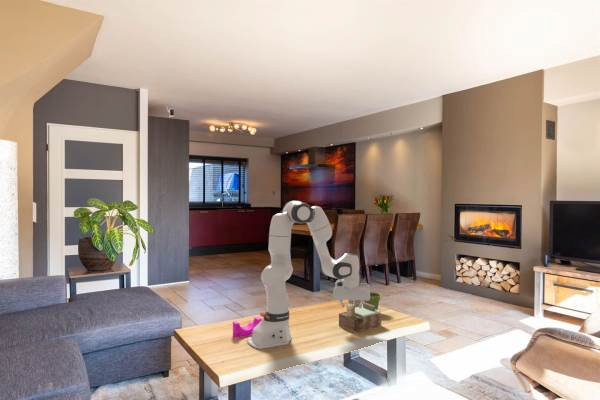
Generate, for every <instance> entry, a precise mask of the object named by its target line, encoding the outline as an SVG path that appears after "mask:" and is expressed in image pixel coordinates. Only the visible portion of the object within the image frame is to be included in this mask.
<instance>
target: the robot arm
mask: <svg viewBox="0 0 600 400" xmlns="http://www.w3.org/2000/svg"><path fill="white" fill-rule="evenodd" d="M295 223H297V224H306V225H307V227H308V229H309V231H310V234H311V237H312V240H313V244H314V248H315V251H316V254H317V257H318V262H319V270H320V273H321V274H322V275H323V276H325V277H330V278H334V279H337V280H336V281H335V283H334V287H333V291H332V292H333V293H332V297H333V299H334V300H339V303H340V305H341V308H343V309H344V308H345V304H346V303H343V300H344V301H345V300H347V301H348V300H353V301H355V300H361V305H360V304H359V303H358V304H359V308H361V309H362V306H363V303H364V301H369V300H370V292H371V290H372V289H371V287H372V286H371V285H370V284H369V283H367V282H365V283H364V282H360V273H359V272H360V261H359V256H358V255H357V254H356V253H355V254H354V253H350V252H345V253H344V254H343V255H342V256H341V257H340V258H338V259H335V258H333V257H332V256H331V255H330V252H329V248H328V246H327V242H328V241H329V240H330V239H331V238H332V236H333V229H332V226H331V223H330V221H329V218H328V216H327V215H326V213H325V212H324V210H323V208H322V207H321V206H318V205H314V206H310V205H309V203H306V202H302V201H300V200H294V199H293V200H289V201H287V202H286V203H285V204H284V205H283V207H282V209H281V210H280V212H279V213H275V214H274V215H272V217H271V220H270V225H269V233H268V252H269V256H270V264H269V265H267V266H265V268H264V269H263V270H262V271H261V273H260V280H261V282H262V284H263V286H264V289H265V293H266V310H265V312H263V311H261V312H259V317H261V318H262V321H261V322H260V323H259V324H258V325H257V326H256V327H254V329H253V331H252V335H251V336H250V337H248V338H247V340H246V341H247V344H248V345H250V346H251V347H253V348H255V349H259V350H262V349H268V348H275V347H281V346H287V345H289V344H290V341H291V340H292V334H291V329H290V321H289V320H290V310H289V294H288V292H287V287H286V281H287V280H289V279H290V278H291V276H292V274H293V271H294V268H293V264H292V259H291V241H292V240H291V239H292V229H293V226H294V224H295Z"/></svg>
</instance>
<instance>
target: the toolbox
mask: <svg viewBox="0 0 600 400" xmlns="http://www.w3.org/2000/svg"><path fill="white" fill-rule="evenodd" d="M380 326H382V313H379V314H375V315H371V316H367V317H361V316H358V315H356V314H355V316H354V317H348V316H347V311H345V312H341V313H340V312H339V313H338V327H340V328H342V329H345V330H347V331H349V332H352V333H354V334H356V333H359V332H363V331H367V330H370V329H374V328H378V327H380Z"/></svg>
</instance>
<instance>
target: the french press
mask: <svg viewBox="0 0 600 400" xmlns="http://www.w3.org/2000/svg"><path fill="white" fill-rule="evenodd" d="M347 301H348V302H347V303H348V304H354V305H355V308H356V307H359V304H360V305H361V303H362V302H361V300H347Z"/></svg>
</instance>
